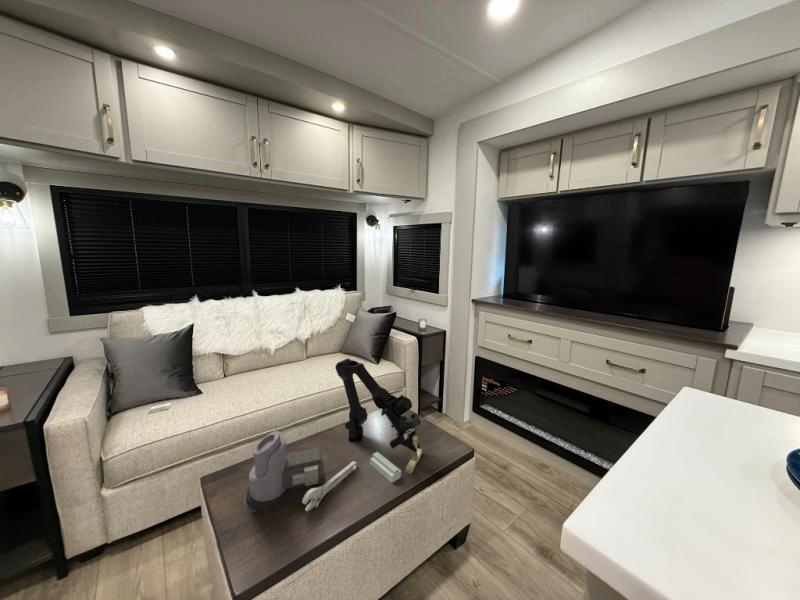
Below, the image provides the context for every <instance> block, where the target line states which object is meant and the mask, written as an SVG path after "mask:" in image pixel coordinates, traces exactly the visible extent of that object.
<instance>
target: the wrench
mask: <svg viewBox="0 0 800 600" xmlns="http://www.w3.org/2000/svg"><path fill="white" fill-rule="evenodd" d="M357 467H358V462H357V461H355V460H352V461H351V462H350V463H349V464H347V465H346V466H345V467H344V468H343V469H341V470H340V471H339V472H338V473H336V474H335V475H334V476H332V477H331V478H330V479H329V480H328V481H327V482H326V483H325V484H324V485H322V486H320V487H317V488H311V489H310V490H309V491H307V493H306V494H305V496H304V498H302V500H301V503H302V504H304V505H305V508H304V510H305V512H309V511H311V510H313V509H314V508H318V506H319V504H320V503H321V502H322V501H321V500H322V499H323V498H324V496H325V495H326V494H327V493H329V492H330V490H331V489H333V488H335V486H336V485H339V483H340V482H342V481H343V480H345V478H346V477H347V476H349V475H350V474H351V473H353V472H354V471H355V470H356V469H357ZM309 501H310V502H309Z"/></svg>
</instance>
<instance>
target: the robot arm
mask: <svg viewBox="0 0 800 600" xmlns="http://www.w3.org/2000/svg"><path fill="white" fill-rule="evenodd" d="M335 370H336V373H337V375H338V377H339V378H340V379H341V380H342V382H343V386H344V391H345V393H346V397H347V402H348V406H349V413H348V418H349V419H348V420H349V421H348V422H346V423H345V424H344V427H345V429H347V430H348V439H347V440H348V442H361V441H363V438H364V426H363V425H364V424H365V422H366V421H367V420H368V415H369V414H368V412H367V408H366V407H363V406H362V405H361V403H360V399H359V395H358V392H357V388H356V384H355V379H354V375H356V376H357V377H358V379H360V381H361V383H362V384H363V385H364V386H365V388H366V389H367V390H368V392H369V393H370V394H371V397H372V399H371V400H372V401H373V402H374V405H375V406H376V408H377V409H381V417H382V416H384V415H385V416H386V417H387V419H388V421H389V422H390V423H391V425H390V427H391V428H392V429H393V428H394V429H395V431H396V432H397V433H396V436H395V437H393V439H392V440H391V441H390V442H389V446H390V448H391V449H392V450H393V449H395V448H396V447H397V446H399V445H402V446H404V447H405V448H408V449H409V450H411V452H412V451H414V452H416V451H417V450H416V448H415V446H414V445H413V443H412V436H413V435H417V431H418V427H417V426H420V425H421V423H422V421H421V420H420V417H419V416H418V414H417V413H416V412H413V413H412V414H410V416H409V417H407V416H406V415H403V414H405V413H406V412H408V411H409V410H410V409H412V408H413V403H412V400H411V399H410V398H408V397H407V396H404V395H403V394H401V395H400V396H399V397H397V396H395V395H392V394H391V393H390V392H389V391H388V390H387V389H386V388H384V387H381V386H380V385H379V384H378V382H377V381H376V380H375V378H374V377H373V376H372V375H371V374H370V372H369V371H368V370H367V368H366V367H365V364H364V363H361V362H358V361H357V360H352V359H350V358H345V359H343V360H341V361H338V362H337V363H336V364H335ZM419 443H420V442H418V449H421V447H420V444H419Z"/></svg>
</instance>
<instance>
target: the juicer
mask: <svg viewBox="0 0 800 600" xmlns="http://www.w3.org/2000/svg"><path fill="white" fill-rule="evenodd" d="M252 456H253V459H254V465H253V467H252V468H251V469H250V472H249V474H248V481H249V482H248V483H249V486H248V488H247V490H246V492H245V493H244V495H245V496H243V499H242V506H243V505H244V507H245V508H246V510H247V511H248V512H247V511H246V510H245V508H244V507H243V509H244V510H245V511H246V512H247V513H249V512H250V513H249V514H253V513H257V512H256V511H258V512H259V513H264V512H270V511H273V510H275V509H278V508H280V507H281V506H283V505H284V504H286V503H287V502H292V501H296V500H299V499H303V498H304V496H305V494H306V493H307V491H309V490H310V489H311V488H317V487H320V486H322V485H324V484H325V483H326V475H325V474H326V473H325V470H324V458H323V452H322V450H321V449H320V448H319V446H318V447H314V448H308V449H303V450H300V451H293V452H289V453H287V439H286V437H285V436H283V435H281V432H280V431H279V430H275V431H272V432H270V433H268V434H267V435H266V436H263V438H261V439H260V440H259V442H257V444H256V445H255V447H254V449H253V452H252ZM252 512H253V513H252Z"/></svg>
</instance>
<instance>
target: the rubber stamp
mask: <svg viewBox="0 0 800 600" xmlns="http://www.w3.org/2000/svg"><path fill="white" fill-rule="evenodd" d="M418 439H419V436H418V435H417V434H416V435H413V436H412V443H413V445H414V446H415V448H416V450H417V451H416V452H414V451H412V450H411V459H410V460H409V461H408V463H407V465H406V467H405V473H408V474H409V475H410V474H411V475H412V473H413V471H414V470H415V467H416V465H417V464H418V462H419V460H420V458H421V457H422V455H423V449H421V448H419V449H418V443H419V440H418Z"/></svg>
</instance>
